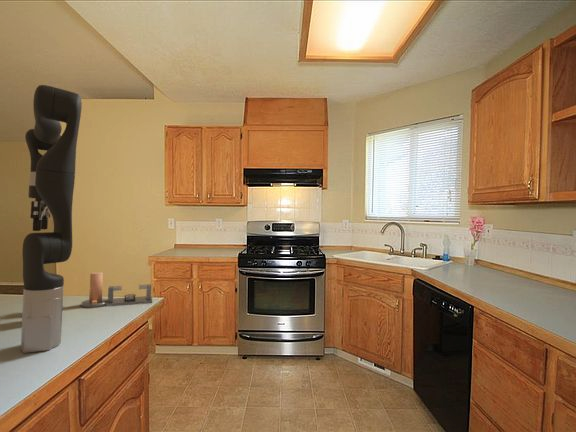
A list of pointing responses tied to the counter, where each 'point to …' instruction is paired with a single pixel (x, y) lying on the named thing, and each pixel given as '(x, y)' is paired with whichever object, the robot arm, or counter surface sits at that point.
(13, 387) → the counter surface
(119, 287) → the keeper post
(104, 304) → the coaster
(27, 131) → the robot arm
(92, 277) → the knob
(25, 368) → the counter surface
